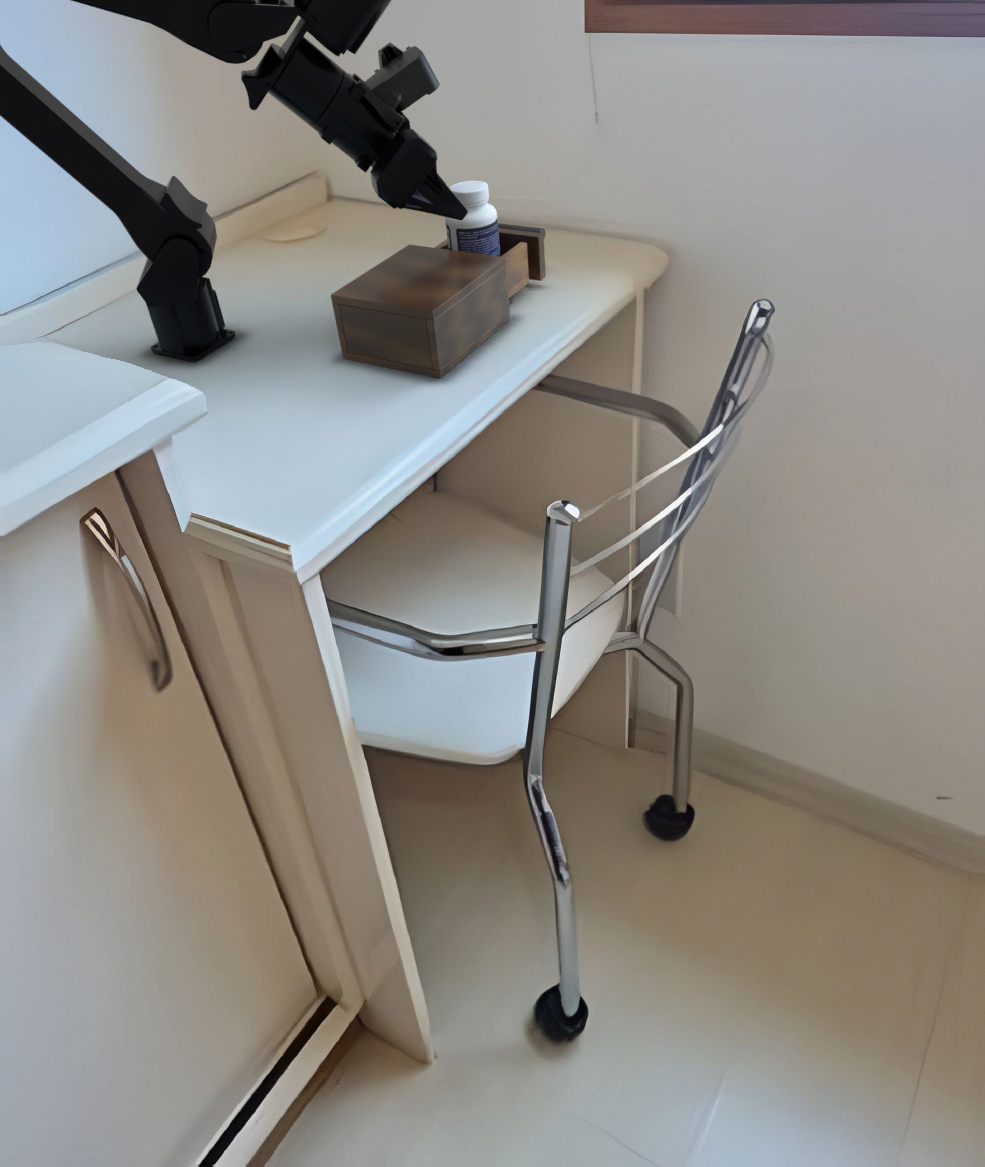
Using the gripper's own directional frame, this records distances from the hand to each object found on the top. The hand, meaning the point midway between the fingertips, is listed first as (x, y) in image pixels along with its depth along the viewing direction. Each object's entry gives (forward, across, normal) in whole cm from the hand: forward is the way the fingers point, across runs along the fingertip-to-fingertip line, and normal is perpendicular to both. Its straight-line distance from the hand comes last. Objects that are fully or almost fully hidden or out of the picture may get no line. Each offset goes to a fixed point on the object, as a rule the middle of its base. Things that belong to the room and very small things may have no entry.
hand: (454, 202), depth 94 cm
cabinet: (+4, -7, +11) cm, 14 cm away
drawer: (+9, +1, +5) cm, 10 cm away
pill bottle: (+7, 0, +5) cm, 9 cm away
